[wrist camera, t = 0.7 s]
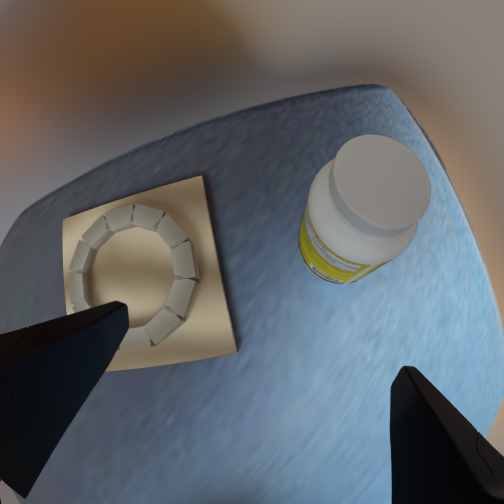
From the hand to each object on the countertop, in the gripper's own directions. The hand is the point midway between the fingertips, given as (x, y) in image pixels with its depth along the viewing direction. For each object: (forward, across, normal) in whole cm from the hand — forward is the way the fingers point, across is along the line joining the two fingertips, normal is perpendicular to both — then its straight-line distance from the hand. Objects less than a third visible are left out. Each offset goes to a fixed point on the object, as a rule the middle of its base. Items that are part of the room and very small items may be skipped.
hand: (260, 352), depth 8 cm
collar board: (+11, +11, +6) cm, 17 cm away
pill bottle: (+15, -4, +1) cm, 15 cm away
